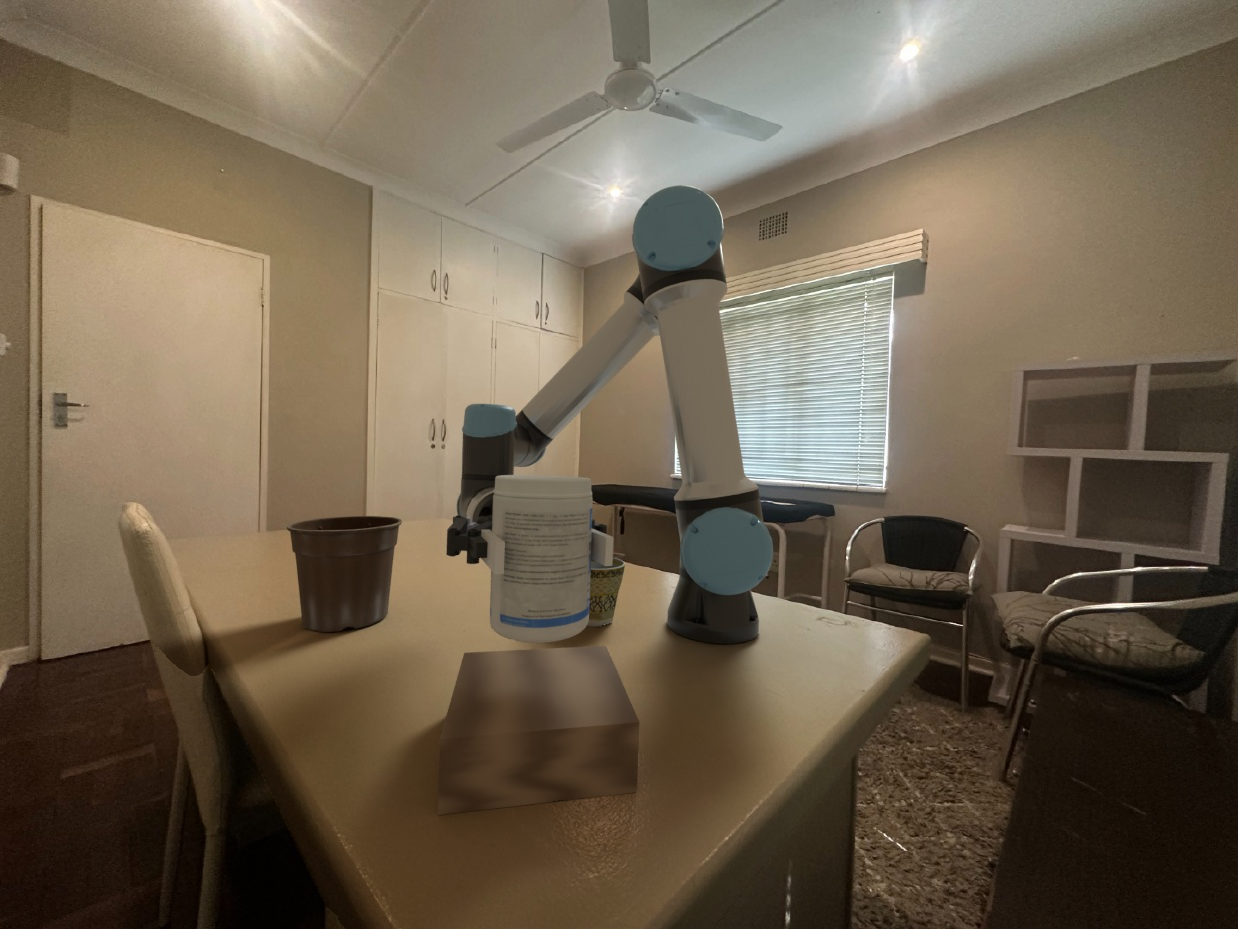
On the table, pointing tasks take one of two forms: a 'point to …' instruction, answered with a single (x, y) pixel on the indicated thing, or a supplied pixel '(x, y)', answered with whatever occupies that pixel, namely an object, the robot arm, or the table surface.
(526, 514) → the supplement tub
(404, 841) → the table surface
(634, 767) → the block
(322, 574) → the plant pot
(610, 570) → the ceramic cup
